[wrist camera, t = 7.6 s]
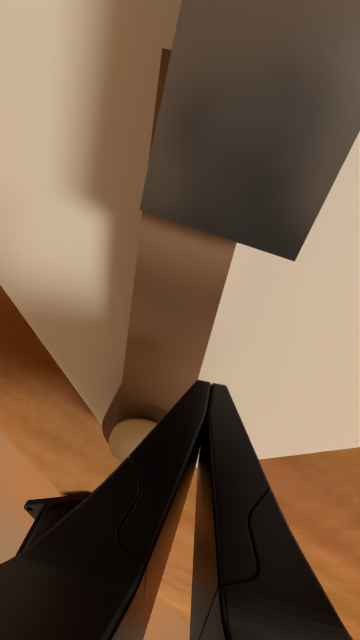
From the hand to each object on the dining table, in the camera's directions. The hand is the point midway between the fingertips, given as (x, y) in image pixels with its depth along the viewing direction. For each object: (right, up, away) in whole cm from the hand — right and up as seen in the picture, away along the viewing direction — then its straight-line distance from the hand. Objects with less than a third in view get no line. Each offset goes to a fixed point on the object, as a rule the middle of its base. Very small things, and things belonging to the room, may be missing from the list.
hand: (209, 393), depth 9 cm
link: (-1, +3, +4) cm, 5 cm away
